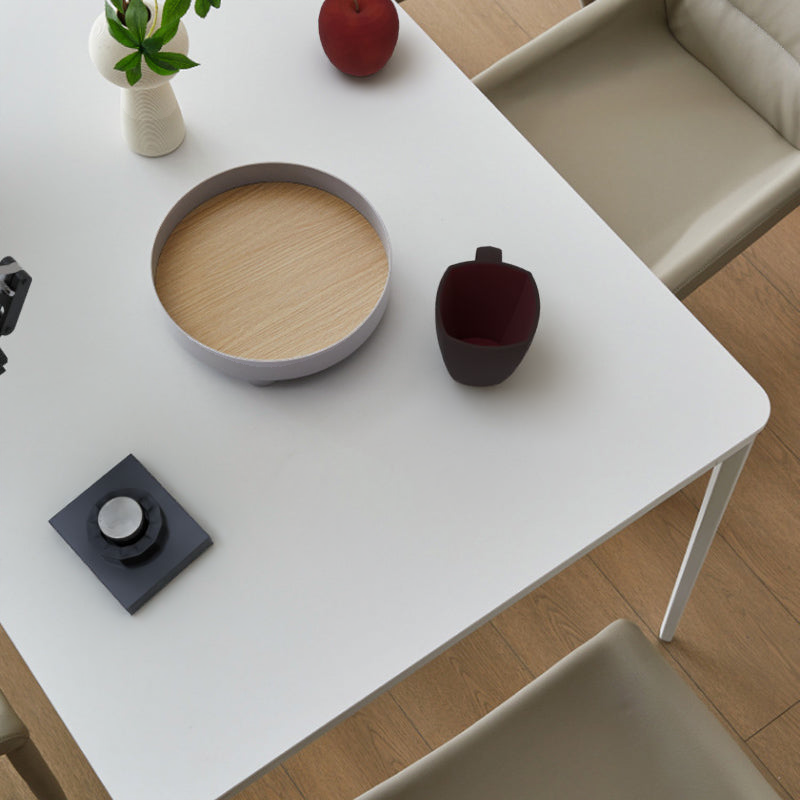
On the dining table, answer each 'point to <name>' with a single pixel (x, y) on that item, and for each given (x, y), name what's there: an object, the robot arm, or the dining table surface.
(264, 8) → the dining table surface
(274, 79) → the dining table surface
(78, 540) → the control block
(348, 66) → the apple
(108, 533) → the button
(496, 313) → the cup
